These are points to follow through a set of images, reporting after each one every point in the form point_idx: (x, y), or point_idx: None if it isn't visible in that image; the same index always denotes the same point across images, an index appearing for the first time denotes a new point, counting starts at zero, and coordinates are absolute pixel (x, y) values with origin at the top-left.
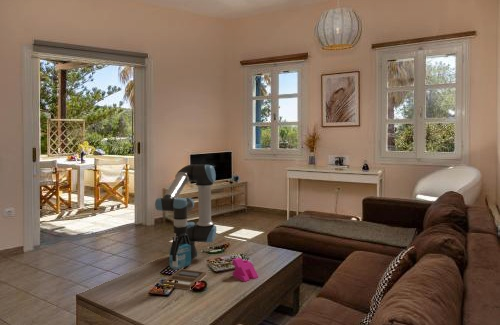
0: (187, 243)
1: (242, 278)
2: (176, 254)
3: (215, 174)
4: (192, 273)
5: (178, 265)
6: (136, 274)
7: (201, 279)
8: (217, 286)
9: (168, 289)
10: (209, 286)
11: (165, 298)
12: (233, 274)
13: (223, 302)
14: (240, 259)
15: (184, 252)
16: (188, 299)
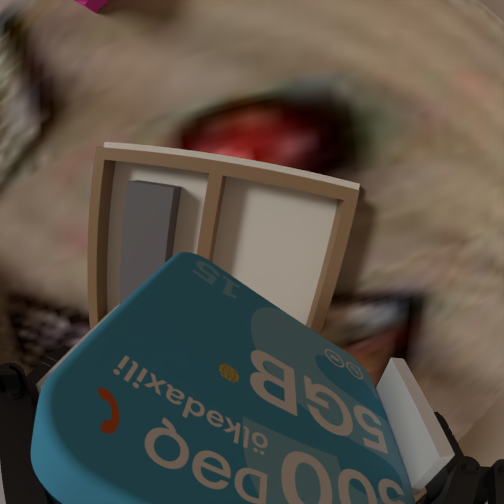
0: (8, 458)
1: None
2: (466, 465)
3: None
4: (134, 233)
5: (336, 360)
6: None
7: (177, 152)
8: (259, 31)
9: (341, 323)
10: (267, 75)
11: (444, 298)
12: (96, 4)
13: (444, 5)
14: None
15: (257, 424)
16: (456, 174)
